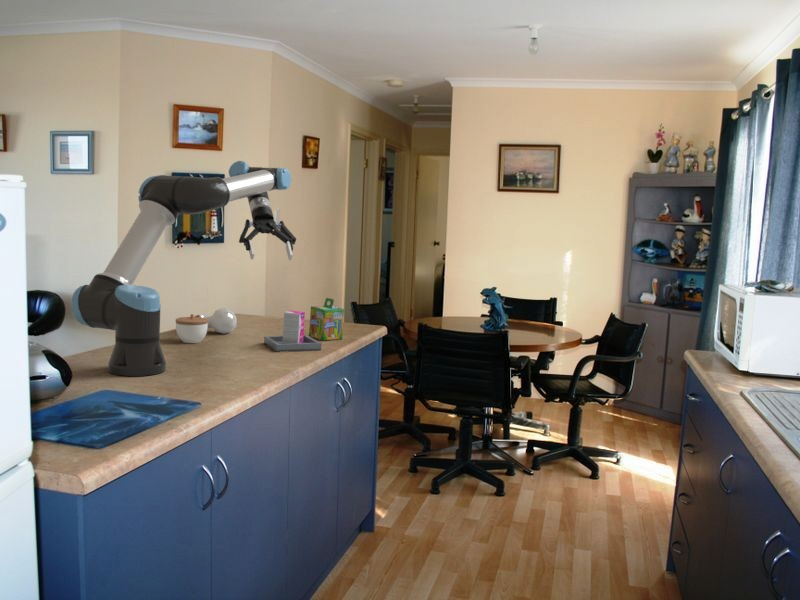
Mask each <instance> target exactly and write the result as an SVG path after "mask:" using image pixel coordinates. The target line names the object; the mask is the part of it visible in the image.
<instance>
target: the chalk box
mask: <svg viewBox="0 0 800 600" xmlns="http://www.w3.org/2000/svg"><path fill="white" fill-rule="evenodd" d="M328 302H329V303H330V304H329V305H328ZM334 302H335V300H334V299H333V298H328V297H326V298H325V300H324V304H323V305H317V306H316V305H315V306H312V305H311V306H310V313H309V315H310V316H309V317H310V318H309V331H308V336H309V337H311V338H313V339H315V340H318V339H319V341H321V340H322V342H325V340H327V341H336V339H339V340H343V333H344V331H343V330H344V329H343V328H344V318H345V317H344V315H345V310H344V308H341V307H339V306H338V307H337V306H334V305H333V304H334Z"/></svg>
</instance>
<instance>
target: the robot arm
mask: <svg viewBox="0 0 800 600" xmlns="http://www.w3.org/2000/svg"><path fill="white" fill-rule="evenodd" d="M228 175H229V176H228V177H224V178H221V177H219V176H214V177H199V176H198V177H195V176H185V175H184V176H183V175H182V176H179V175H167V174H160V175H159V174H157V175H152V176H149V177H148V178H146V179H144V181H143V182H142V183H141V185H140V187H139V189H138V194H139V195H138V197H137V198H138V202H139V203H138V208H139V210H140V212H139V213H138V215H137V217H136V219H135V220H134V222H133V223H132V225H131V227H130V228H129V230H128V232H127V233H126V234H125V236H124V238H123V240H122V241H121V243H120V244H119V247H118V248H116V249H117V250H116V251H115V253H114V255H113V256H112V257H111V259H110V260H109V262H108V264H107V266H106V268H105V270H103V272H102V273H96V274H95V275H94V276H93V277H92V280H91V281H90V283H89V284H83V285H79V287H78V288H77V289H75V291H74V292H73V293H72V297H71V302H70V306H71V308H72V310H71V313H72V315H73V317H74V319H75V320H76V322H78V323H79V324H81V325H83V326H88V327H90V328H94V329H95V328H96V329H104V330H111V331H114V332H115V334H114V335H115V339H114V340H115V341H114V343H115V344H114V346H113V348H112V352H111V355H110V358H109V360H108V367H107V368H108V370H107V371H108V372H109V373H110V374H112V375H115V376H116V375H117V376H125V377H141V376H142V377H144V376H153V375H159V374H161V373H163V372H165V371H166V369H167V364H166V363H167V362H166V358H165V355H164V352H163V350H162V346H161V343H160V342H161V341H160V337H161V336H160V334H161V333H160V332H161V330H160V329H161V304H162V303H161V297H160V294H159V292H158V291H157V290H156V289H154V288H152V287H148V286H143V285H136V284H134V282H135V280H136V279H137V278H138V275H139V274H140V273H141V270H142V269H143V266H144V265H145V264H146V261H147V260H148V258H149V256H150V255H151V254H152V252H153V249H154V248H155V246H156V244H158V243H157V242H158V241H159V240H160V238H161V236H162V234H163V233H164V231H165V230H166V227H167V226H172V225H173V224H175V222H176V220H177V219H178V217H179V215H199V214H202V213H207V212H211V211H214V210H217V209H221V208H224V207H226V206H227V205H228V204H229V203H230V202H233V201H234V202H235V201H237V200H241V199H245V198H247V200H248V205H249V210H250V214H251V219H252V221H250V219H248V218H247V219H245V222H244V227H243V230H242V231H241V234H240V237H239V241H238V243H240V244H243V246H245V250H246V251H249V257H250V260H254V258H255V250H254V245H253V239H254V238H255V237H256V236H257V235H258V234H259V233H260V234H269V235H270V234H271V235H272V236H275V237H276V238H278V239H279V240H280V241H281V242H282V243H284V244H285V249H286V254H287V258H288V260H289V261H292V259H293V256H294V255H293V251H294V245H296V241H297V238H296V237H295V235H294V234H293V233H292V232H291V231H290V229H289V228H288V227H287V226H286V225H285V222H284V221H283V220H280V221H279V222H276V221H275V218H274V214H273V210H272V205H271V202H270V198H269V197H270V196H269V194H268V192H271V191H275V190H277V191H278V190H279V191H281V190H283V191H284V190H285V191H286V190H287V189H289V188H290V186H291V183H292V178H291V177H292V176H291V173H290V171H289V169H287V168H284V167H260V166H258V167H256V166H249V164H248V163H247V162H245V161H243V160H237V161H235V162H233V163H232V164H231V165H230V166H229V169H228ZM251 227H253V228H254V229H253V230H252V231H251V232H250V233H249V234H248V235H247V233H248V231H249V229H250V228H251ZM246 235H247V236H246Z"/></svg>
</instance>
